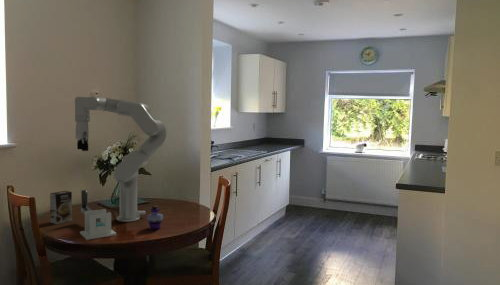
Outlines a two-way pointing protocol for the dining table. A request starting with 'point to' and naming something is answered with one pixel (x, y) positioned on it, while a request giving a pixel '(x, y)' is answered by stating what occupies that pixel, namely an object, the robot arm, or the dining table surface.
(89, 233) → the bearing block
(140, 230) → the dining table surface
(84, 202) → the shaft
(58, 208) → the coffee box
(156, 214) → the potion bottle
